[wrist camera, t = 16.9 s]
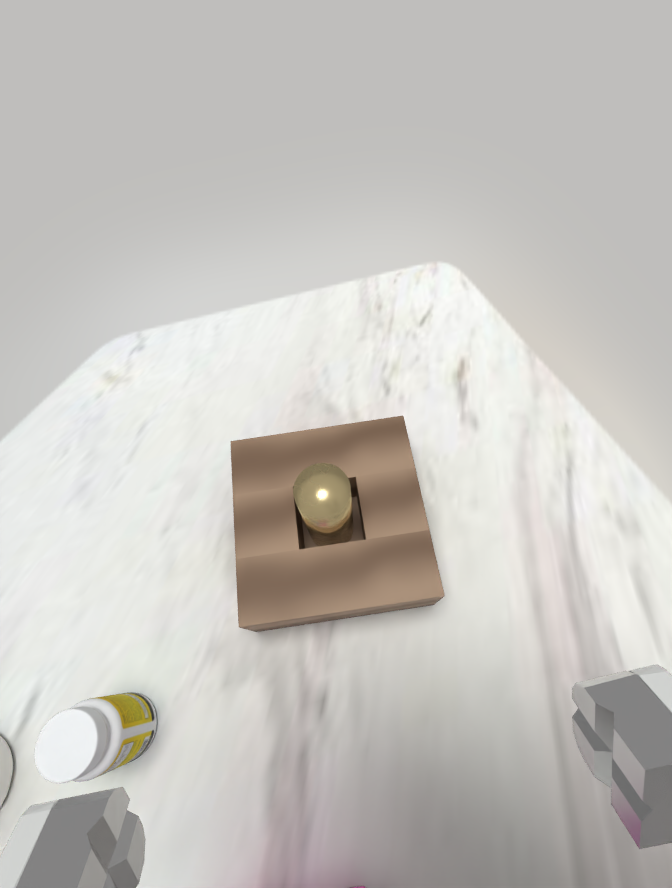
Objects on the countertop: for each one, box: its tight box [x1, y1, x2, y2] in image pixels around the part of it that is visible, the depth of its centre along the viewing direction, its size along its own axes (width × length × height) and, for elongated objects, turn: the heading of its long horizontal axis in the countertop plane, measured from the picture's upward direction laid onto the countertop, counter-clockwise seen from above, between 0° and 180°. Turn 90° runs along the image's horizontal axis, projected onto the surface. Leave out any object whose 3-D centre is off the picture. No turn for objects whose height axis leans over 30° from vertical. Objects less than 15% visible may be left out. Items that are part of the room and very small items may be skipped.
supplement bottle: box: [35, 693, 157, 783], centre depth 32 cm, size 5×5×8 cm
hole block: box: [231, 416, 444, 632], centre depth 39 cm, size 15×15×6 cm
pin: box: [293, 463, 354, 546], centre depth 37 cm, size 4×4×10 cm
